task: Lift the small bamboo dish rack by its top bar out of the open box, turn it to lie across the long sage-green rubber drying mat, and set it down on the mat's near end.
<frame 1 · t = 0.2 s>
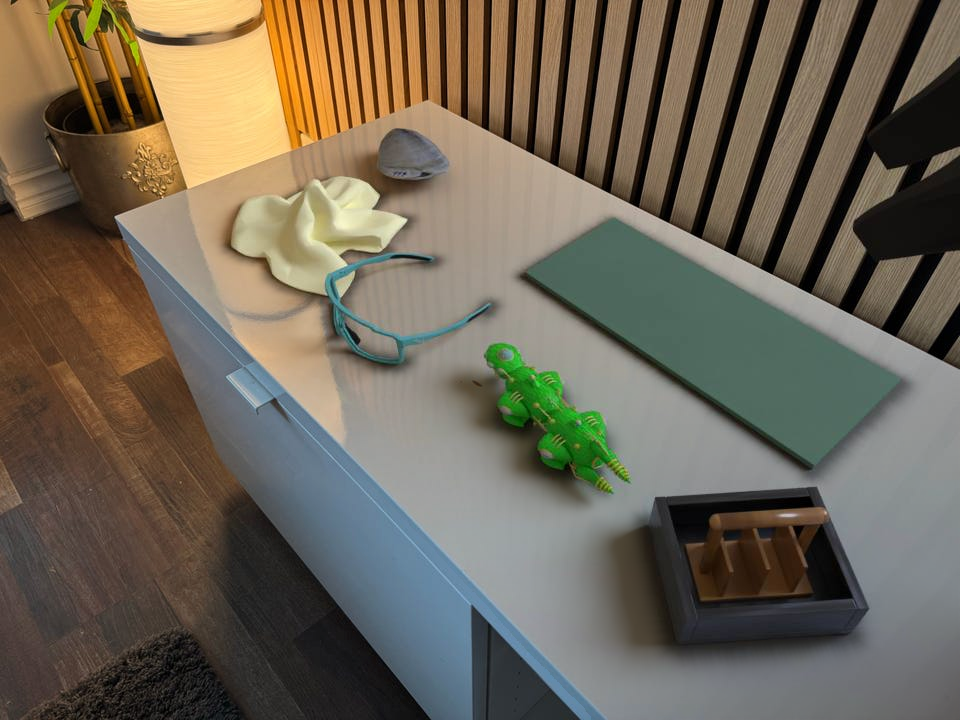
hand: (871, 193, 36), 31 cm above the table, tool tilted 45°, fingers open, 7 cm apart
open box: (744, 575, 55), on the table
seashell: (409, 175, 95), on the table
drying mat: (696, 324, 74), on the table
dish rack: (746, 570, 55), point 1 cm above the table, touching open box
cloth: (322, 236, 86), on the table
sunglasses: (404, 314, 77), on the table
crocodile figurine: (550, 429, 66), on the table
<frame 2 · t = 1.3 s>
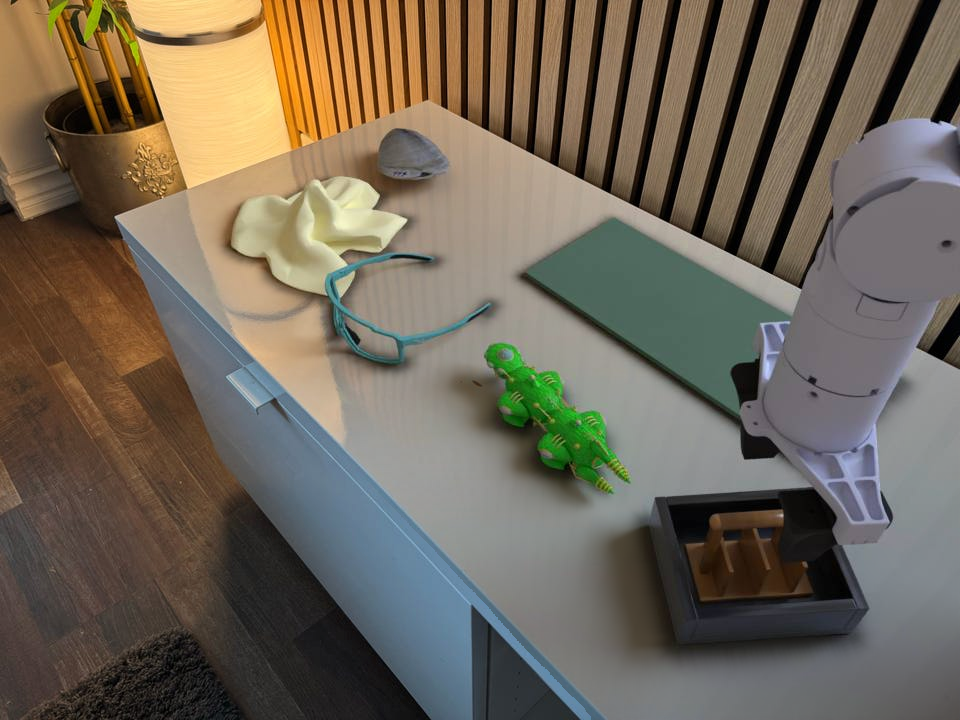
hand: (775, 503, 48), 10 cm above the table, tool pointing down, fingers open, 7 cm apart
nothing on the table moved.
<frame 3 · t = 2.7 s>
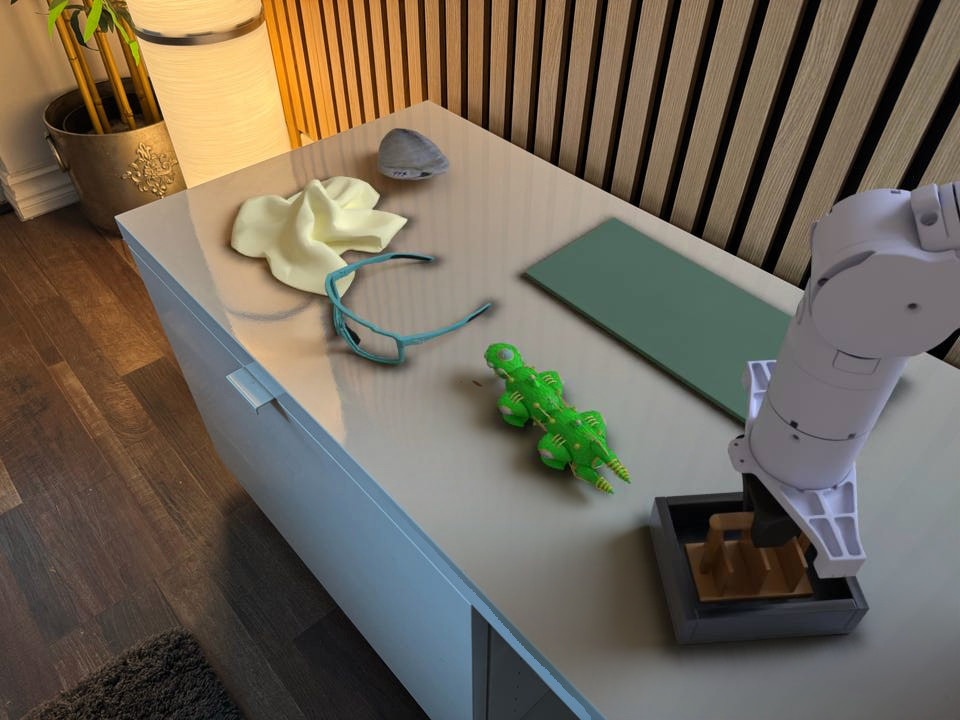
hand: (763, 531, 51), 6 cm above the table, tool pointing down, fingers closed on dish rack
dish rack: (746, 570, 55), point 1 cm above the table, touching gripper, open box
everything else where it was.
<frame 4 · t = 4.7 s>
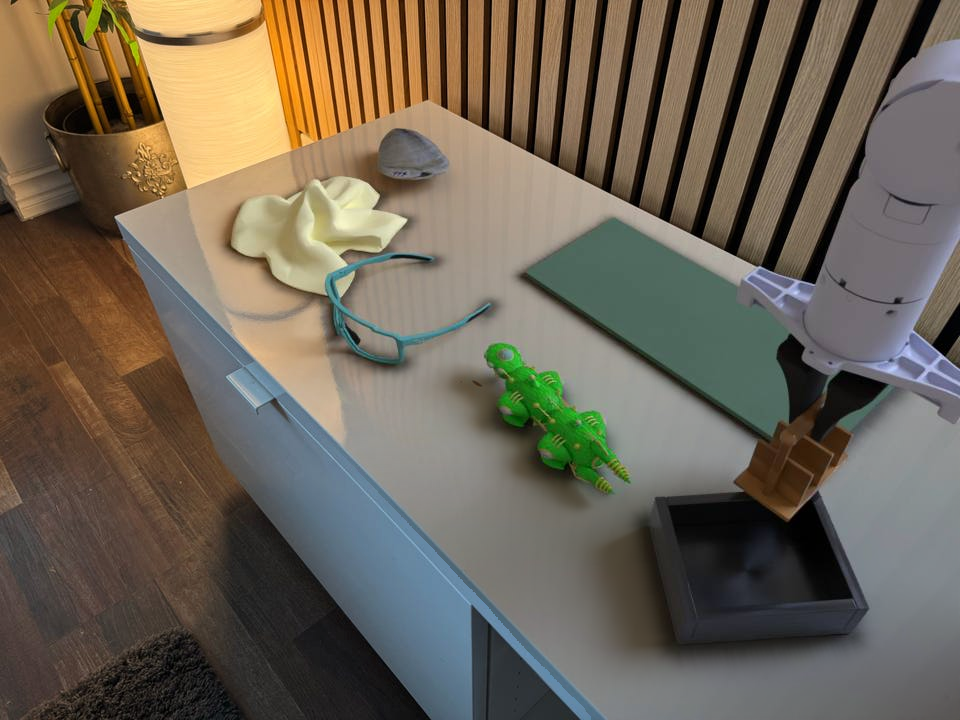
hand: (811, 424, 52), 10 cm above the table, tool pointing down, fingers closed on dish rack
dish rack: (790, 471, 56), point 5 cm above the table, touching gripper
everything else where it was.
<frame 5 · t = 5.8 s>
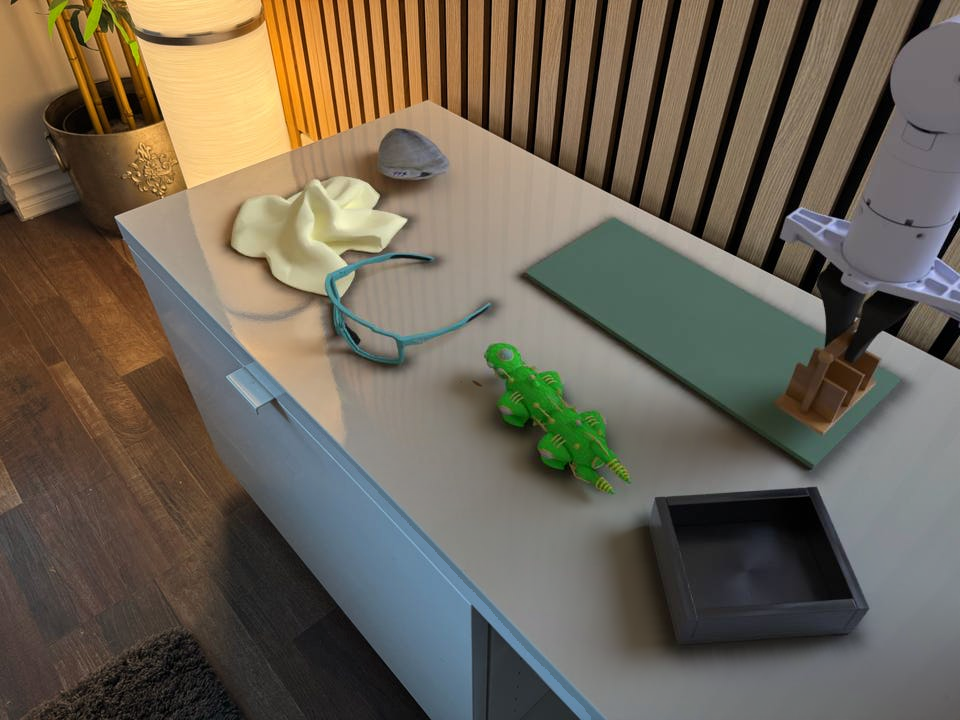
hand: (844, 349, 59), 9 cm above the table, tool pointing down, fingers closed on dish rack
dish rack: (824, 394, 63), point 4 cm above the table, touching gripper
everything else where it was.
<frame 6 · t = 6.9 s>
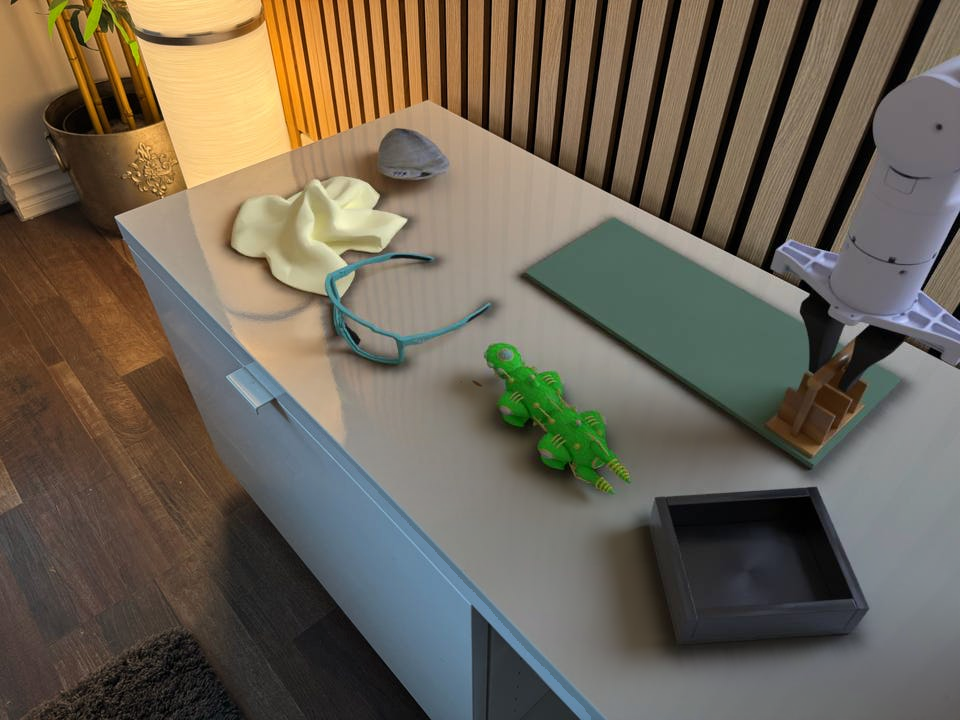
hand: (833, 375, 61), 6 cm above the table, tool pointing down, fingers closed
dish rack: (814, 417, 65), point 1 cm above the table, touching drying mat
everything else where it was.
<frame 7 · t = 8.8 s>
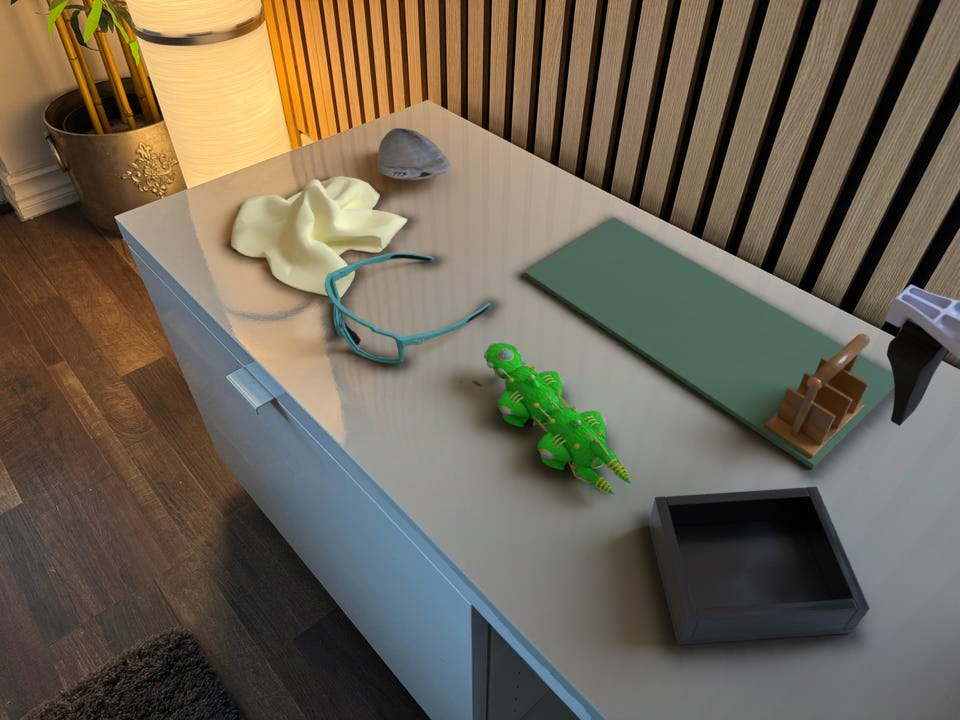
hand: (957, 448, 50), 10 cm above the table, tool pointing down, fingers open, 7 cm apart
nothing on the table moved.
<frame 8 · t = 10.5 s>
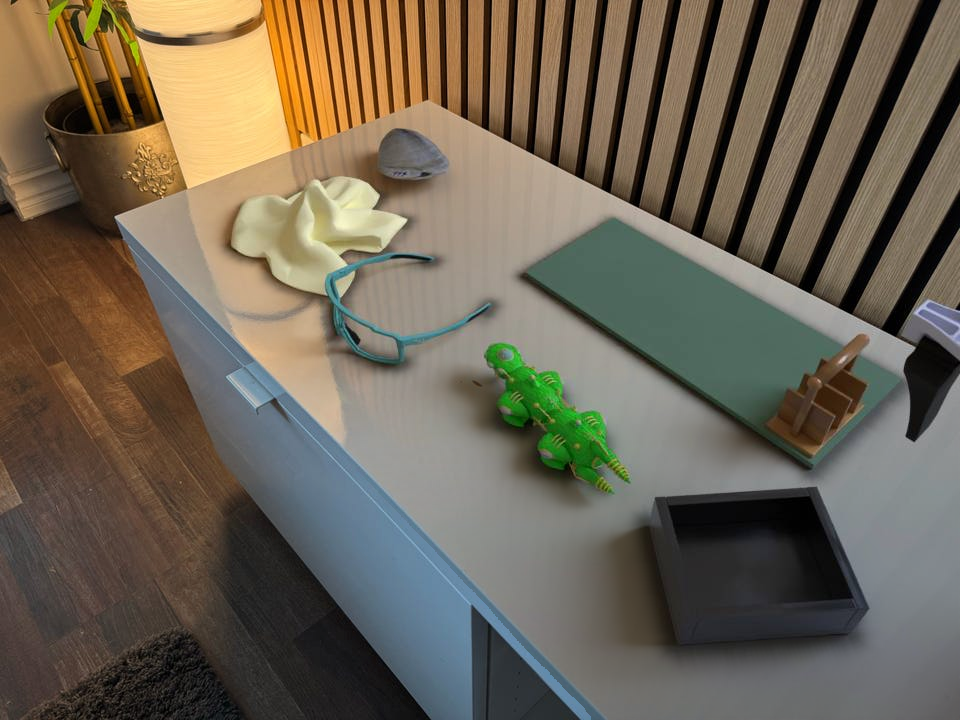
nothing on the table moved.
at the end: dish rack inside the target area on the drying mat (0.1 cm from its centre), point 0.6 cm above the drying mat's base; dish rack touching drying mat; dish rack tilted 0° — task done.
